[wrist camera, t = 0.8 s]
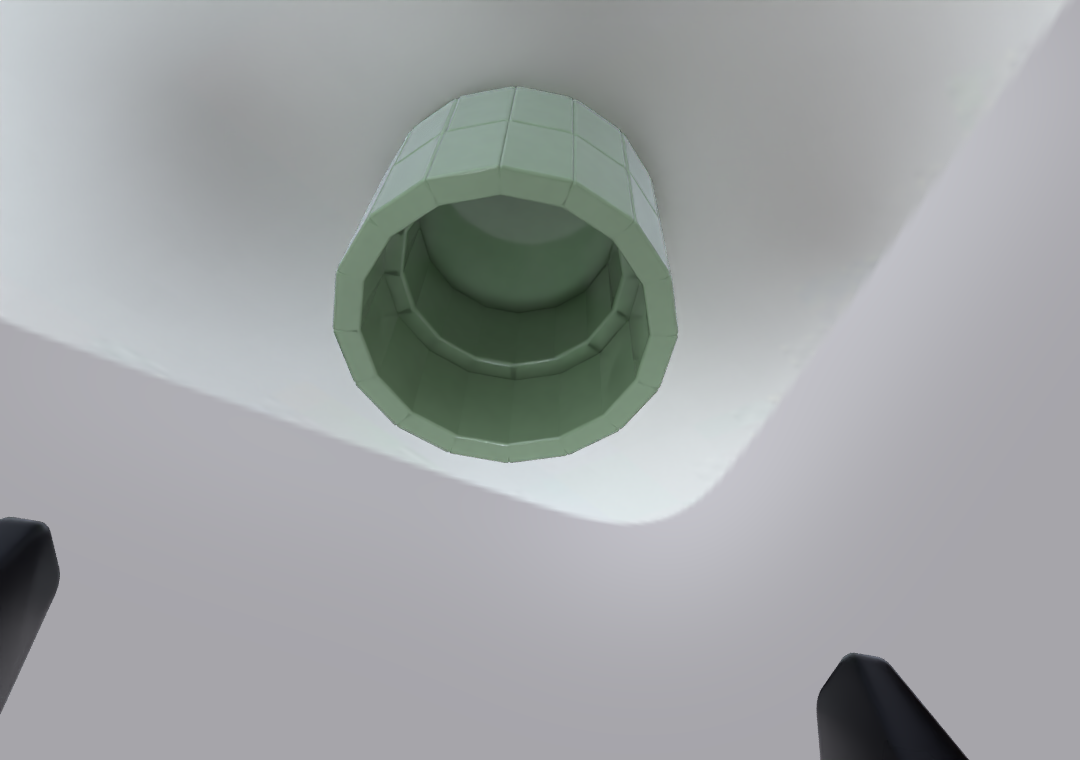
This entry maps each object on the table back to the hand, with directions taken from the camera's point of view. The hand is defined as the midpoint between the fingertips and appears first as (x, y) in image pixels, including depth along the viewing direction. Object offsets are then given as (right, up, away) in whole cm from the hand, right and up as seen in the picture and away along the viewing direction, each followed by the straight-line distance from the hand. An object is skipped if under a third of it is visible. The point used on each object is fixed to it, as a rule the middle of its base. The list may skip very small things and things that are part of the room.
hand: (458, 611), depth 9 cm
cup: (+1, +6, +9) cm, 11 cm away
